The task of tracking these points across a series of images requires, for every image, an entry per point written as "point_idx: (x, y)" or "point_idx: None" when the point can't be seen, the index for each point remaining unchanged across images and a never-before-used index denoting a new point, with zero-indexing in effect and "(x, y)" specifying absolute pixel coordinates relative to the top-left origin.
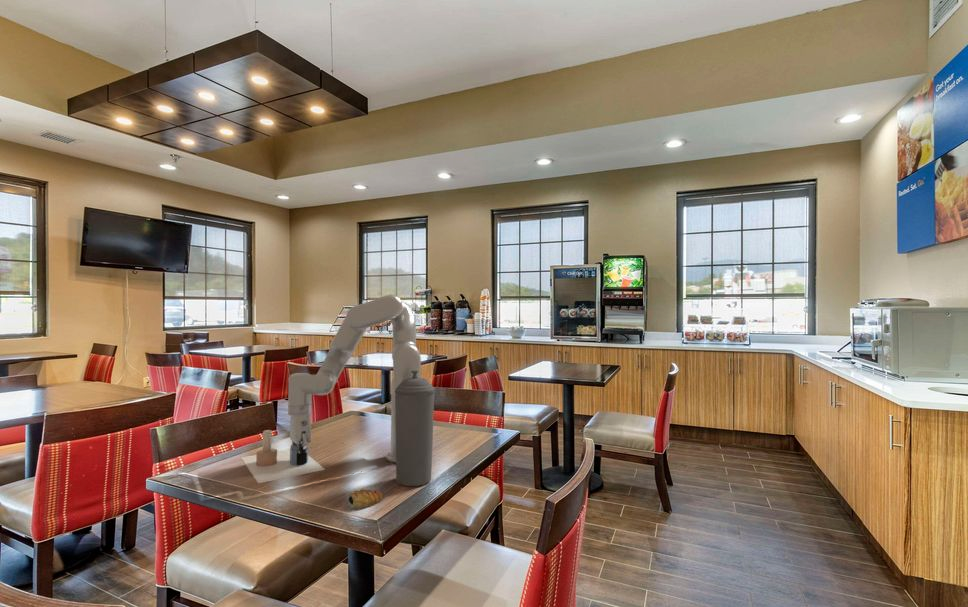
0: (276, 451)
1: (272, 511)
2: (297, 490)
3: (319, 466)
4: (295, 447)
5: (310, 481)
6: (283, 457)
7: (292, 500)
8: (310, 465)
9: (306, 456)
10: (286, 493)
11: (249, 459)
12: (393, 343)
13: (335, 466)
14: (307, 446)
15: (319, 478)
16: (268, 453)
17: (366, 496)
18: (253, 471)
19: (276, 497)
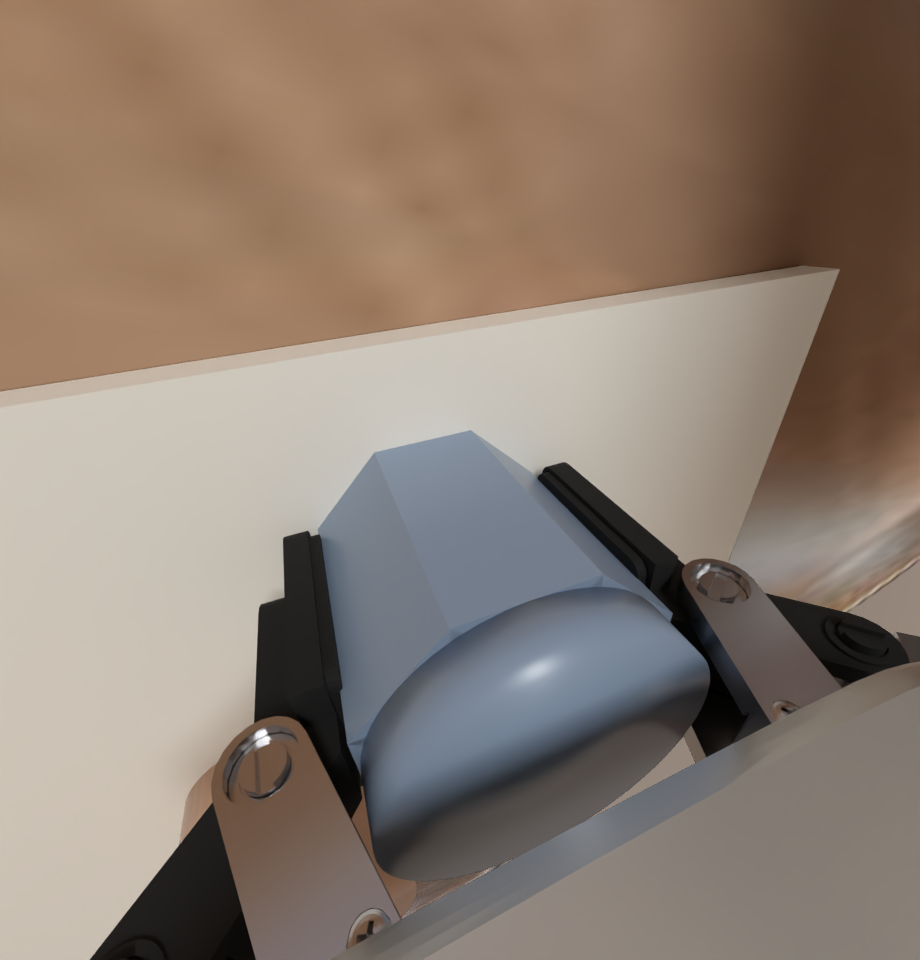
0: None
1: (908, 566)
2: (861, 496)
3: (720, 311)
4: (646, 773)
5: (835, 422)
6: (99, 725)
7: (915, 511)
8: (615, 411)
9: (620, 512)
10: (839, 542)
11: (95, 930)
12: None
13: (754, 23)
14: (643, 614)
15: (853, 348)
16: (397, 895)
17: None
18: None
19: (833, 575)
